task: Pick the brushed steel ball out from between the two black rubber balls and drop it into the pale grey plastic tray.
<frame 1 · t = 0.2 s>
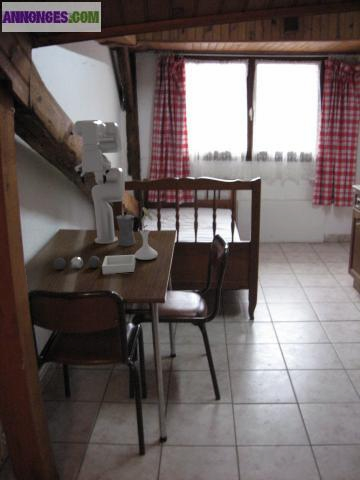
hand: (94, 183, 230), 36 cm above the table, tool pointing down, fingers open, 9 cm apart
steel ball: (76, 262, 222), point 3 cm above the table
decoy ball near: (94, 261, 222), point 3 cm above the table
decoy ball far: (59, 263, 222), point 3 cm above the table
coffeepot: (129, 244, 257), on the table
tray: (119, 268, 220), on the table
flower in vase: (146, 257, 234), on the table
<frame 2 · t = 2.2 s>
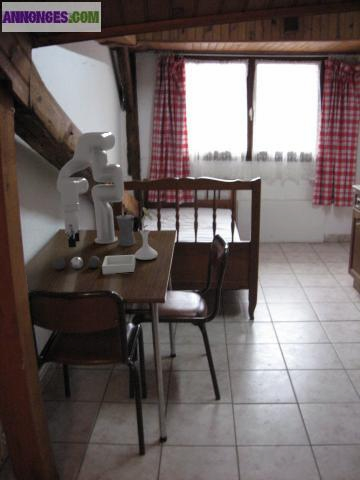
hand: (74, 244, 219), 12 cm above the table, tool pointing down, fingers open, 9 cm apart
nothing on the table moved.
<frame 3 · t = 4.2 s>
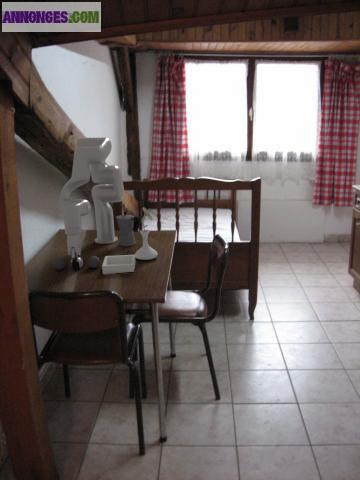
hand: (77, 266, 223), 1 cm above the table, tool pointing down, fingers closed on steel ball, 5 cm apart
steel ball: (76, 262, 222), point 3 cm above the table, touching gripper
everything else where it was.
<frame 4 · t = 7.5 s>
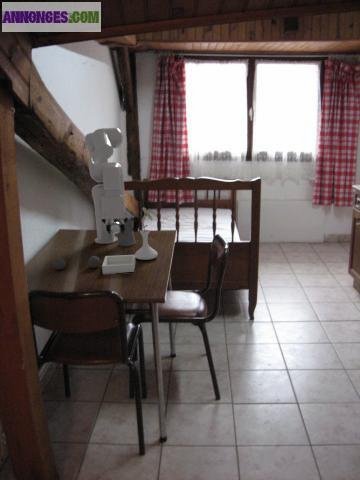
hand: (115, 232, 216), 18 cm above the table, tool pointing down, fingers closed on steel ball, 5 cm apart
steel ball: (115, 227, 215), point 20 cm above the table, touching gripper
everything else where it was.
when the fingers open (4 cm above the table, at t = 11.0 s): steel ball drops 2 cm, resting on tray.
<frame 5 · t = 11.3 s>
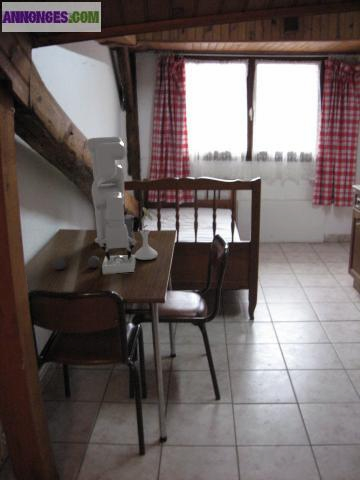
hand: (118, 258, 219), 5 cm above the table, tool pointing down, fingers open, 8 cm apart
steel ball: (119, 261, 219), point 4 cm above the table, touching tray
everything else where it was.
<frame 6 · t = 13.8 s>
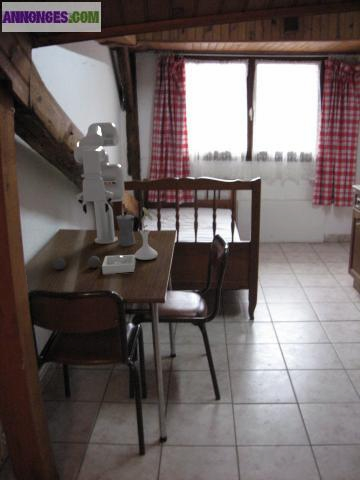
hand: (96, 212, 223), 25 cm above the table, tool pointing down, fingers open, 9 cm apart
nothing on the table moved.
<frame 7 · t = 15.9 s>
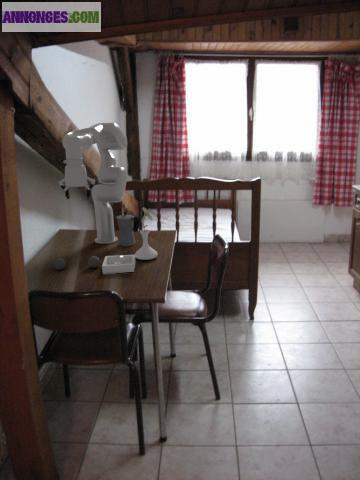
hand: (78, 198, 228), 30 cm above the table, tool pointing down, fingers open, 9 cm apart
nothing on the table moved.
at the end: steel ball inside the target area on the tray (0.1 cm from its centre), point 3.5 cm above the tray's base; the gripper is holding nothing; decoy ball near moved 0.0 cm from its start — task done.
